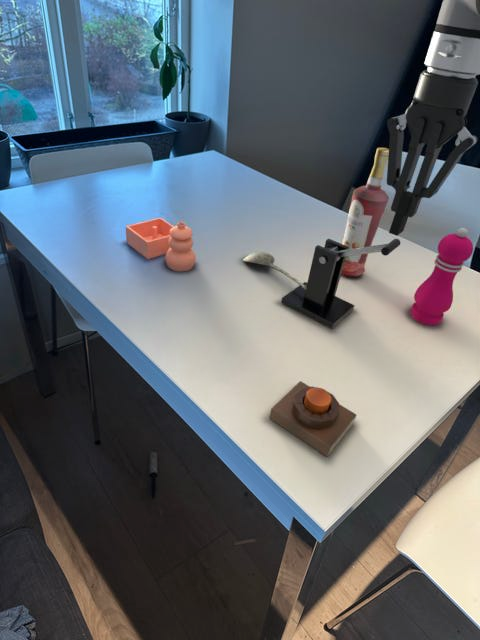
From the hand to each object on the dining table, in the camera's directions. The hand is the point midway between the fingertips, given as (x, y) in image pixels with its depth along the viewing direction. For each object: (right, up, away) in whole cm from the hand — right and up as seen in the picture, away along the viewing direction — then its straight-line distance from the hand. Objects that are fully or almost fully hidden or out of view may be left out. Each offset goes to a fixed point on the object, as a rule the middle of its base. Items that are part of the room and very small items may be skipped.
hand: (396, 231), depth 74 cm
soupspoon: (-18, -5, +23) cm, 30 cm away
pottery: (-43, 0, +28) cm, 52 cm away
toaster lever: (-5, -3, +6) cm, 9 cm away
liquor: (-1, -4, +30) cm, 30 cm away
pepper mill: (+12, -14, +18) cm, 26 cm away
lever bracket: (-10, -12, +17) cm, 23 cm away
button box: (-15, -30, -7) cm, 34 cm away
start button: (-15, -27, -10) cm, 32 cm away
